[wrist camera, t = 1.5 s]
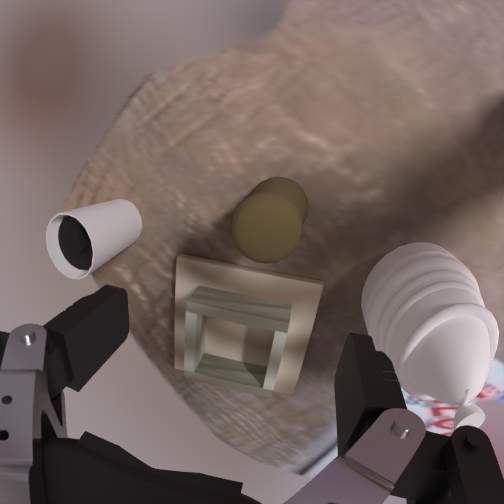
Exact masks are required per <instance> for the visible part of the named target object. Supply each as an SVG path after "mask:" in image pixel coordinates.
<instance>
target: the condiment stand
mask: <svg viewBox="0 0 504 504" xmlns="http://www.w3.org/2000/svg"><path fill="white" fill-rule="evenodd" d="M322 289H323V281H322V280H316V279H311V278H305V277H300V276H295V275H289V274H284V273H279V272H273V271H268V270H263V269H257V268H252V267H247V266H242V265H236V264H231V263H226V262H221V261H216V260H211V259H206V258H200V257H195V256H190V255H185V254H180V255H179V256H177V263H176V287H175V335H174V360H175V368H176V369H180V370H183V371H184V377H186V378H190V379H193V380H197V381H201V382H204V383H208V384H212V385H216V386H220V387H224V388H229V389H233V390H237V391H242V392H246V393H251V394H256V395H261V396H266V397H271V398H272V394H273V392H278V393H283V394H289V395H293V394H294V390H295V387H296V384H297V381H298V377H299V374H300V371H301V367H302V364H303V360H304V357H305V353H306V350H307V346H308V343H309V339H310V335H311V332H312V328H313V324H314V320H315V317H316V313H317V309H318V305H319V301H320V297H321V293H322Z"/></svg>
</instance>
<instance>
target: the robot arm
mask: <svg viewBox="0 0 504 504" xmlns="http://www.w3.org/2000/svg"><path fill="white" fill-rule="evenodd" d="M128 333H129V312H128V296H127V292H126V290H125V289H123V288H119V287H115V286H111V285H105V286H103V287H102V288H101V289H99V290H98V291H96V292H95V293H94V294H91V295H88V296H86V297H83V298H81V299H79V300H78V301H77V302H75V303H74V304H73V305H72V306H69V307H68V308H67V309H66V311H63V312H61V313H60V314H58V315H57V316H56V317H54V318H53V319H52V320H50V321H49V322H48V323H47V324H45V325H44V326H40V325H37V324H24V325H21V326H19V327H17V328H15V329H14V330H12V332H11V333H7V332H2V331H0V504H261V503H260V502H258V501H256V500H254V499H252V498H251V497H249V496H246V495H244V494H242V493H241V489H242V485H243V483H241V482H236V481H232V480H227V479H222V478H218V477H213V476H209V475H205V474H202V473H191V472H180V471H169V470H160V469H155V468H152V467H150V466H148V465H146V464H145V463H144V462H142V461H140V460H139V459H137V458H136V457H134V456H133V455H131V454H130V453H128V452H127V451H125V450H124V449H123V448H121V447H120V446H118V445H115V444H113V443H111V442H108V441H106V440H104V439H102V438H99V437H97V436H95V435H93V434H91V433H89V432H87V431H85V432H84V434H83V435H82V436H81V438H80V439H79V440H78V439H71V438H68V436H67V427H66V415H65V397H64V393H63V389H64V388H65V387H66V386H67V387H69V388H71V389H73V390H75V391H77V392H79V391H80V390H81V389H82V387H83V386H84V385H85V384H86V383H87V382H88V381H89V379H90V378H91V377H92V376H93V375H94V374H95V373H96V372H97V371H98V370H99V368H100V367H101V366H102V365H103V364H104V363H105V362H106V361H107V360H108V359H109V357H110V356H111V355H112V354H113V353H114V352H115V351H116V350H117V349H118V347H120V345H121V344H122V343H123V342H124V341H125V340H126V338H127V336H128ZM334 388H335V402H336V419H337V441H338V456H337V457H336V458H335V459H334V460H333V461H332V462H330V463H329V464H328V465H327V466H326V467H325V468H324V469H323V470H322V471H321V472H320V473H319V474H318V475H316V476H315V477H314V478H313V479H312V480H311V481H310V482H309V483H307V484H306V485H305V486H304V487H303V488H302V489H301V490H300V491H298V492H297V493H296V494H295V495H293V496H292V497H291V498H290V499H288V500H287V501H286V502H285V503H283V504H383V502H384V501H385V500H386V499H387V497H388V496H389V495H393V496H397V497H401V498H406V500H407V504H504V479H503V476H502V473H501V470H500V467H499V464H498V461H497V458H496V455H495V453H494V450H493V447H492V445H491V442H490V440H489V438H488V436H487V435H486V434H485V433H484V432H483V431H482V430H480V429H479V428H477V427H474V426H470V425H464V426H460V427H458V428H456V429H455V430H454V432H453V433H452V435H451V436H445V435H441V434H437V433H433V432H429V431H426V428H425V424H424V422H423V421H422V419H421V418H420V417H419V416H418V415H416V414H415V413H413V412H411V411H409V410H407V407H406V404H405V400H404V397H403V394H402V391H401V388H400V384H399V382H398V378H397V375H396V373H395V369H394V366H393V363H392V361H391V360H390V359H389V357H388V356H387V355H386V354H385V353H384V352H383V351H376V349H375V346H374V342H373V339H372V337H371V336H370V335H362V334H354V333H350V334H349V335H348V337H347V340H346V343H345V346H344V349H343V352H342V355H341V358H340V361H339V364H338V367H337V371H336V375H335V383H334Z"/></svg>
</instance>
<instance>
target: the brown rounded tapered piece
mask: <svg viewBox="0 0 504 504" xmlns="http://www.w3.org/2000/svg"><path fill="white" fill-rule="evenodd" d="M307 212H308V201H307V197H306V195H305V193H304V191H303V189H302V188H301V187H300V186H299V185H298V184H297V183H296V182H294V181H292V180H290V179H288V178H282V177H274V178H268V179H267V180H265V181H263V182H261V183H260V184H259V185H258V186H257V187H256V188H255V189H254V190H253V192H252V195H251V196H250V197H248V198H246V199H244V200H243V201H242V202H241V204H240V205H239V206H238V207H237V208H236V210H235V212H234V214H233V217H232V223H231V233H232V238H233V241H234V243H235V245H236V246H237V248H238V250H239V251H240V252H241V253H242V254H243V255H244V256H246V257H247V258H249V259H251V260H253V261H255V262H260V263H266V264H267V263H275V262H278V261H280V260H282V259H285V258H287V257H288V256H289V255H290V254H291V253H292V252H293V251H294V250H295V249H296V248H297V246H298V244H299V242H300V240H301V235H302V229H303V227H302V224H303V223H304V221H305V219H306V217H307Z"/></svg>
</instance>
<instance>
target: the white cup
mask: <svg viewBox="0 0 504 504" xmlns="http://www.w3.org/2000/svg"><path fill="white" fill-rule="evenodd" d="M141 229H142V221H141V216H140V214H139V212H138V210H137V208H136V207H135V206H134V205H133V204H132V203H131V202H129V201H127V200H124V199H116V200H111V201H107V202H103V203H98V204H94V205H90V206H86V207H82V208H78V209H74V210H70V211H66V212H62V213H58V214H57V215H56V216H54V217H53V218H52V219H51V221H50V223H49V225H48V227H47V235H46V243H47V248H48V253H49V255H50V257H51V259H52V262H53V264H54V265H55V266H56V268H57V269H58V270H59V271H60V272H61V273H62V274H63V275H65V276H67V277H69V278H70V279H79V280H80V279H82V278H84V277H85V276H87V275H89V274H90V273H92V272H93V271H94V270H96V269H97V268H98V267H100V266H101V265H103V264H104V263H106V262H107V261H108V260H110V259H111V258H113V257H114V256H115V255H117V254H118V253H120V252H121V251H123V250H124V249H126V248H127V247H128V246H130V245H131V244H133V243H134V242H136V240H137V239H138V238H139V236H140V234H141Z"/></svg>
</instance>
